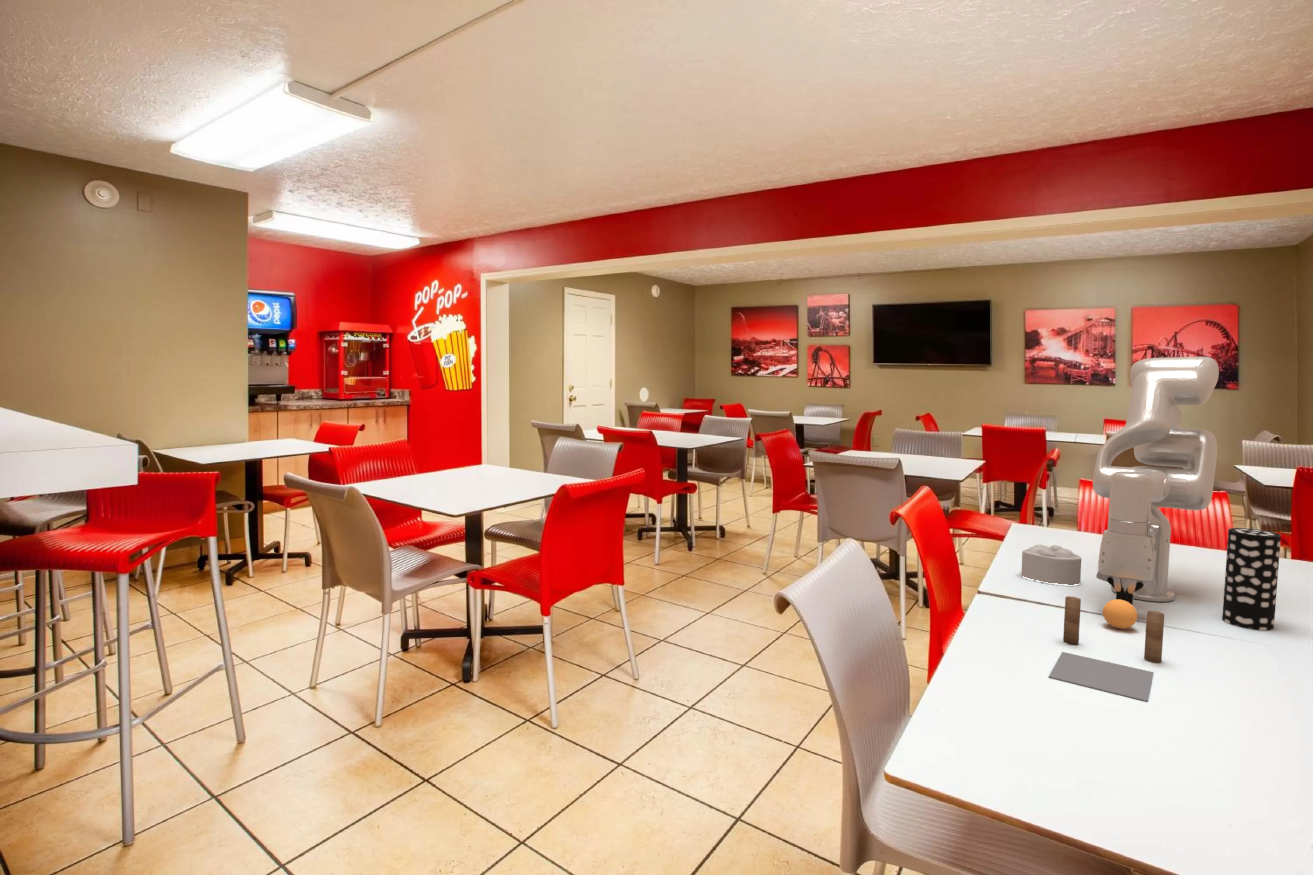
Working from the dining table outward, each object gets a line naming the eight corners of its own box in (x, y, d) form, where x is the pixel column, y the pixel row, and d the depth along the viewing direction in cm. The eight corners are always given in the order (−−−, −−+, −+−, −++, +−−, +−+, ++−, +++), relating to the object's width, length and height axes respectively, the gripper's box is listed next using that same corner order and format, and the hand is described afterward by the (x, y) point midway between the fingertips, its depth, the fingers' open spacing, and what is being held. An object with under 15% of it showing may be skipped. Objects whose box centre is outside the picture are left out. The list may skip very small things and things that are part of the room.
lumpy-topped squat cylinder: (1032, 571, 182) (1033, 540, 182) (1086, 581, 173) (1087, 549, 172) (1017, 578, 176) (1019, 546, 175) (1072, 589, 166) (1074, 555, 165)
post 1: (1064, 638, 133) (1066, 595, 133) (1079, 642, 132) (1081, 598, 131) (1062, 642, 131) (1064, 598, 131) (1077, 646, 130) (1079, 601, 129)
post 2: (1144, 655, 125) (1147, 609, 124) (1161, 659, 123) (1164, 612, 123) (1143, 660, 123) (1146, 613, 122) (1161, 664, 121) (1164, 616, 121)
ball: (1103, 620, 144) (1105, 593, 143) (1137, 627, 140) (1139, 599, 139) (1100, 628, 139) (1101, 600, 139) (1135, 635, 135) (1137, 606, 135)
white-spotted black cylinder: (1253, 617, 146) (1259, 528, 144) (1284, 631, 138) (1292, 537, 136) (1212, 615, 147) (1218, 527, 145) (1241, 629, 138) (1248, 536, 137)
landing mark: (1062, 652, 126) (1062, 651, 126) (1153, 673, 117) (1153, 672, 117) (1048, 677, 116) (1048, 676, 116) (1147, 701, 107) (1147, 700, 107)
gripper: (1172, 529, 143) (1166, 612, 144) (1090, 520, 153) (1086, 597, 154) (1170, 535, 137) (1165, 621, 139) (1085, 525, 147) (1081, 605, 148)
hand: (1123, 608), depth 146 cm, fingers closed
